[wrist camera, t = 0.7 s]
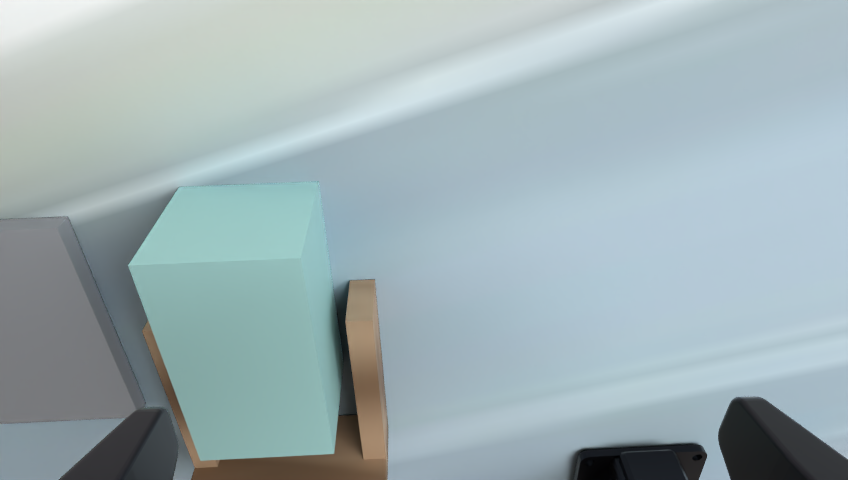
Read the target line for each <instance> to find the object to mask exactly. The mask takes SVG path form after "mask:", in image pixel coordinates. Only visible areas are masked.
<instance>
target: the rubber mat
mask: <svg viewBox="0 0 848 480" xmlns="http://www.w3.org/2000/svg"><path fill="white" fill-rule="evenodd" d="M145 404H146V402H145V400H144V398H143V395H142V393H141V391H140V388H139V386H138V383H137V381H136V379H135V376H134V374H133V371H132V369H131V367H130V364H129V362H128V359H127V357H126V355H125V352H124V350H123V348H122V345H121V343H120V340H119V338H118V336H117V333H116V331H115V328H114V326H113V324H112V321H111V319H110V317H109V314H108V312H107V309H106V307H105V305H104V302H103V300H102V297H101V295H100V293H99V290H98V288H97V285H96V283H95V281H94V278H93V276H92V274H91V271H90V269H89V266H88V264H87V262H86V259H85V257H84V254H83V252H82V250H81V247H80V245H79V242H78V240H77V238H76V235H75V233H74V231H73V228H72V226H71V223H70V221H69V219H68V217H47V218H24V219H0V424H8V423H29V422H49V421H70V420H90V419H111V418H127V417H128V416H129V415H130V414H131V413H133V412H134V411H135V410H137V409H139V408H144V406H145Z"/></svg>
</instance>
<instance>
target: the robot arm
mask: <svg viewBox="0 0 848 480" xmlns="http://www.w3.org/2000/svg"><path fill="white" fill-rule="evenodd" d="M718 440H719V445H720V449H721V452H722V455H723V458H724V461H725V464H726V467H727V470H728V473H729V476H730V479H731V480H848V459H846V458H845V457H844V456H842V455H841V454H840V453H838V452H837V451H835V450H834V449H833V448H831V447H830V446H829V445H827V444H826V443H824V442H823V441H822V440H820V439H819V438H818V437H816V436H815V435H813V434H812V433H811V432H809V431H808V430H807V429H805V428H804V427H802V426H801V425H800V424H798V423H797V422H795V421H794V420H793V419H791V418H790V417H789V416H787V415H786V414H784V413H783V412H782V411H780V410H779V409H778V408H776V407H775V406H773V405H772V404H771V403H769V402H768V401H766V400H765V399H763V398H761V397H736V398H734V399H733V400H732V401H731V402H730V405H729V407H728V409H727V412H726V414H725V416H724V419H723V421H722V423H721V426H720V428H719V433H718ZM177 457H178V440H177V437H176V434H175V430H174V427H173V424H172V421H171V418H170V415H169V413H168V411H167V410H166V409H165V408H163V407H144V408H139V409H137V410H135V411H134V412H133V413H131V414H130V415H129V416H128V417H127V418H126V419H125V420H124V421H123V422H122V423H120V424H119V425H118V426H117V427H116V428H115V429H114V430H113V431H112V432H111V433H109V434H108V435H107V436H106V437H105V438H104V439H103V440H102V441H101V442H100V443H98V444H97V445H96V446H95V447H94V448H93V449H92V450H91V451H90V452H89V453H87V454H86V455H85V456H84V457H83V458H82V459H81V460H80V461H79V462H78V463H76V464H75V465H74V466H73V467H72V468H71V469H70V470H69V471H68V472H67V473H65V474H64V475H63V476H62V477H61V478H60V479H59V480H173V475H174V471H175V466H176V462H177ZM706 458H707V454H706V452H705V450H704V448H703V446H701V445H679V446H660V447H640V448H620V449H600V450H586V451H583V452H581V453H580V454H579V455H578V459H577V464H576V470H575V475H574V480H699V477H700V474H701V472H702V469H703V466H704V464H705V461H706Z"/></svg>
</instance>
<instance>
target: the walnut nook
mask: <svg viewBox="0 0 848 480" xmlns="http://www.w3.org/2000/svg"><path fill="white" fill-rule="evenodd" d="M345 323H346V331H347V338H348V346H349V353H350V361H351V369H352V376H353V384H354V391H355V399H356V406H357V414H358V415H346V416H338V421H337V431H336V441H335V451H334V454H323V455H303V456H284V457H264V458H245V459H225V460H206V461H200V458H199V456H198V453H197V450H196V448H195V445H194V442H193V440H192V437H191V434H190V431H189V429H188V426H187V423H186V421H185V418H184V415H183V413H182V410H181V407H180V405H179V402H178V399H177V396H176V394H175V391H174V388H173V386H172V383H171V380H170V378H169V375H168V372H167V369H166V367H165V364H164V361H163V359H162V356H161V353H160V351H159V348H158V345H157V343H156V340H155V337H154V334H153V332H152V329H151V326H150V324H149V321H147V323H146V325H145V327H144V328H143V330H142V332H143V335H144V338H145V340H146V343H147V345H148V348H149V350H150V353H151V356H152V358H153V361H154V363H155V366H156V369H157V371H158V374H159V376H160V379H161V382H162V384H163V387H164V389H165V392H166V395H167V397H168V400H169V402H170V405H171V407H172V410H173V413H174V415H175V418H176V420H177V423H178V426H179V428H180V431H181V433H182V436H183V439H184V441H185V444H186V446H187V449H188V452H189V454H190V457H191V459H192V462H193V465H194V467H195V469H194V472H193V475H192V478H191V480H387V475H388V419H387V408H386V398H385V387H384V376H383V365H382V354H381V343H380V332H379V321H378V310H377V299H376V288H375V279H374V280H351V281H350V284H349V293H348V302H347V311H346V320H345Z"/></svg>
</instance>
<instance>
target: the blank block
mask: <svg viewBox="0 0 848 480" xmlns="http://www.w3.org/2000/svg"><path fill="white" fill-rule="evenodd" d="M128 267H129V270H130V272H131V275H132V278H133V281H134V283H135V286H136V289H137V291H138V294H139V297H140V299H141V302H142V305H143V307H144V310H145V313H146V316H147V318H148V321H149V324H150V326H151V329H152V332H153V334H154V337H155V340H156V343H157V345H158V348H159V351H160V353H161V356H162V359H163V361H164V364H165V367H166V369H167V372H168V375H169V378H170V380H171V383H172V386H173V388H174V391H175V394H176V396H177V399H178V402H179V405H180V407H181V410H182V413H183V415H184V418H185V421H186V423H187V426H188V429H189V431H190V434H191V437H192V440H193V442H194V445H195V448H196V450H197V453H198V456H199V458H200V461H206V460H225V459H245V458H264V457H284V456H303V455H323V454H334V451H335V441H336V431H337V421H338V411H339V401H340V391H341V381H342V371H343V354H342V347H341V340H340V333H339V325H338V318H337V311H336V304H335V296H334V289H333V282H332V275H331V267H330V260H329V253H328V246H327V238H326V231H325V224H324V217H323V209H322V202H321V195H320V188H319V181H315V182H290V183H265V184H240V185H215V186H190V187H179V188H178V190H177V191H176V193H175V194H174V196H173V197H172V199H171V200H170V202H169V203H168V205H167V206H166V208H165V210H164V211H163V213H162V214H161V216H160V217H159V219H158V220H157V222H156V223H155V225H154V226H153V228H152V230H151V231H150V233H149V234H148V236H147V237H146V239H145V240H144V242H143V243H142V245H141V246H140V248H139V250H138V251H137V253H136V254H135V256H134V257H133V259H132V260H131V262H130V263H129V265H128Z"/></svg>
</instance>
